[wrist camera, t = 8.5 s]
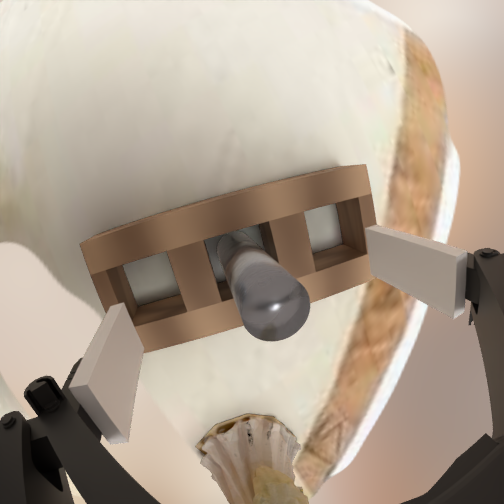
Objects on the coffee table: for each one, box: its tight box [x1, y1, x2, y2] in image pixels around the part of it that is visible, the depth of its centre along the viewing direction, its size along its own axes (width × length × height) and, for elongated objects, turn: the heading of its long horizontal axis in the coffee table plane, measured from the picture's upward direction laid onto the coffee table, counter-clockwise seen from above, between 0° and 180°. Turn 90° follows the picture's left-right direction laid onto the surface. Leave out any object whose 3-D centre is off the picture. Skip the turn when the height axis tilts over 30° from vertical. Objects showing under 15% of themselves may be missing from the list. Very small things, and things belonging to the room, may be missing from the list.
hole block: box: [80, 164, 377, 353], centre depth 22 cm, size 21×9×4 cm, turn 104°
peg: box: [217, 231, 310, 341], centre depth 18 cm, size 3×3×12 cm
